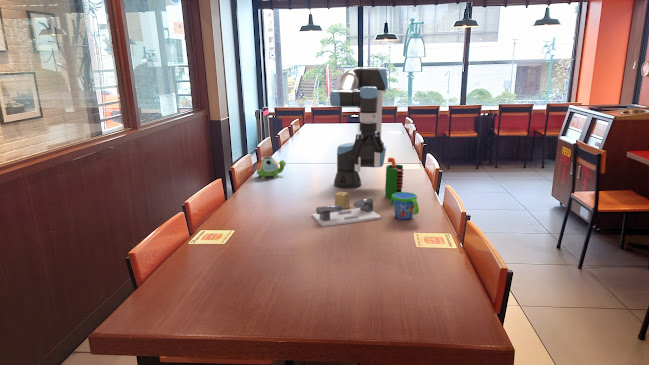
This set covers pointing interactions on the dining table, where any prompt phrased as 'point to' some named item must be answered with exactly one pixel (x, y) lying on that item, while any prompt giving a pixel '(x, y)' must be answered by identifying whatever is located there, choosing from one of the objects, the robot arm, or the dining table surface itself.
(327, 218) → the shaft
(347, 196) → the block
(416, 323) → the dining table surface
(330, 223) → the base plate
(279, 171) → the turtle holder
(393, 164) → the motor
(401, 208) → the snack cup
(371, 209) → the shaft
